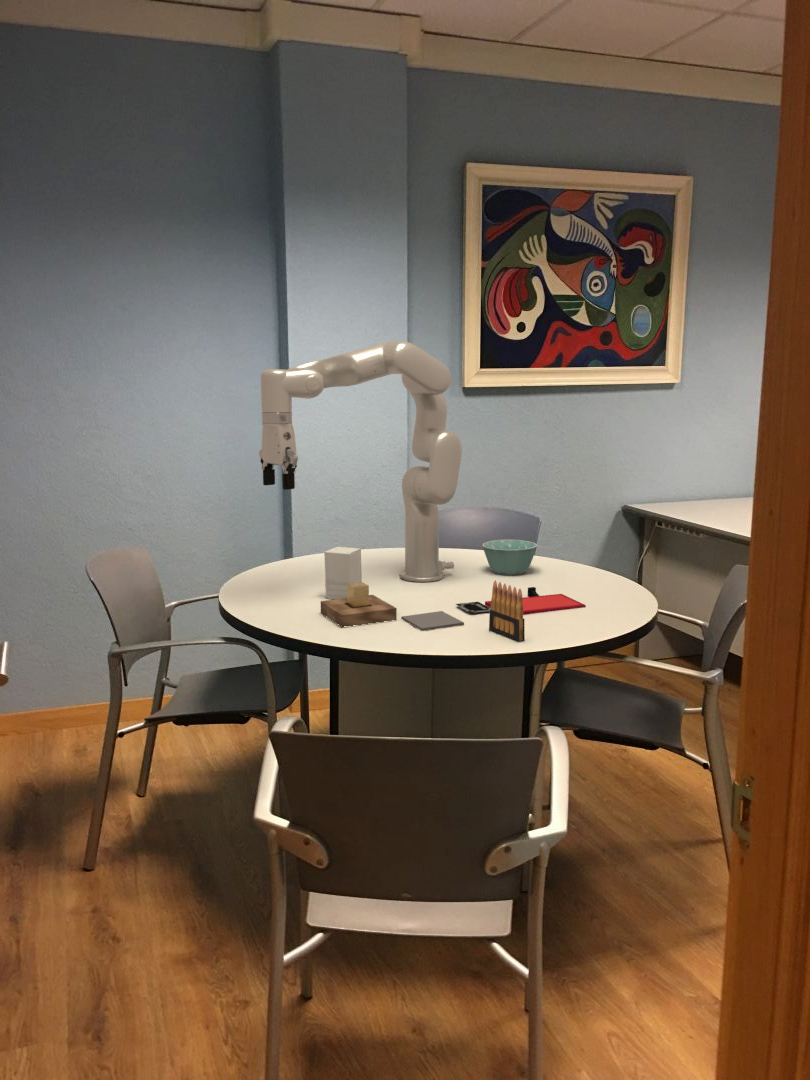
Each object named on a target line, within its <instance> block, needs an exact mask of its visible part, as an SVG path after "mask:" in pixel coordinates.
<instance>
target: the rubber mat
mask: <svg viewBox="0 0 810 1080" xmlns="http://www.w3.org/2000/svg"><path fill="white" fill-rule="evenodd" d="M400 618H401V620H402V619H403V620H402V621H404V622H406V623H407V622H408V624H409V623H410V625H411V626H412V627H414V628H417V629H418V630H420V631H421V632H424V631H431V630H437V629H446V628H451V627H459V626H464V625H465V622H464V621H462V620H460V619H458V618H456V617H455V616H453V615H451V614H449V613H447V612H444V610H443V611H442V610H437V611H432V612H425V613H415V614H409V615H403V616H401V617H400Z"/></svg>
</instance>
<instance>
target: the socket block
mask: <svg viewBox="0 0 810 1080" xmlns="http://www.w3.org/2000/svg"><path fill="white" fill-rule="evenodd" d="M397 611H398V610H397V607H396V606H394V605H392V604H390V603H388V602H386V601H385V600H383V599H381V598H379V597H378V596H376V595H374V594H369V606H368V607H361V608H353V609H352V608H350V607H349V606H347V598H342V599H327V600H326V599H325V600H320V614H321V615H323V616H324V615H325V616H324V617H326V616H327V617H328V619H329V618H330V619H331V620H330V619H329V620H330V621H332V620H333V621H334V622H333V621H332V622H333V623H335V622H336V623H337V624H339V625H340V626H342V627H344V626H351V627H354V626H353V625H359V626H363V625H362V624H366V625H369V624H368V623H373V624H377V623H376V622H380V623H385V622H384V621H388V622H393V621H392V620H395V621H397V619H398V617H397V615H398V614H397V613H398V612H397ZM327 617H326V618H327ZM336 623H335V624H336ZM337 624H336V625H337ZM339 625H338V626H339ZM340 626H339V627H340ZM342 627H341V628H342ZM344 628H345V627H344Z"/></svg>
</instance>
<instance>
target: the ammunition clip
mask: <svg viewBox="0 0 810 1080" xmlns="http://www.w3.org/2000/svg"><path fill="white" fill-rule="evenodd" d="M517 590H518V591H517ZM491 592H492V593H491V598H490V599H491V600H490V601H491V609H490V611H489V619H488V620H489V621H488V623H489V624H488V627H489V628H488V631H489V632H491V633H493V634H496V635H498V636H501V637H504V638H506V639H509V640H510V641H514V642H516V643H521V642H525V618H524V615H523V601H522V598H523V591H522V589H521V588H520V587H519V588H518V589H517V588H516V586H514V587H513V588H512V586H511V584H509V585H508V587H507V584H506V583H503V584H502V581H498V583H497V580H494V581H493V585H492V591H491Z"/></svg>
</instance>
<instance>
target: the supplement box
mask: <svg viewBox="0 0 810 1080" xmlns="http://www.w3.org/2000/svg"><path fill="white" fill-rule="evenodd" d="M323 555H324V581H325V582H324V583H325V586H324V587H325V599H327V600H334V599H342V598H347V584H349V583H358V582H363V580H362V576H363V575H362V572H363V571H362V549H361V548H356V547H345V546H336V547H333V548H330V549H329V550H326V551H324V554H323Z"/></svg>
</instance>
